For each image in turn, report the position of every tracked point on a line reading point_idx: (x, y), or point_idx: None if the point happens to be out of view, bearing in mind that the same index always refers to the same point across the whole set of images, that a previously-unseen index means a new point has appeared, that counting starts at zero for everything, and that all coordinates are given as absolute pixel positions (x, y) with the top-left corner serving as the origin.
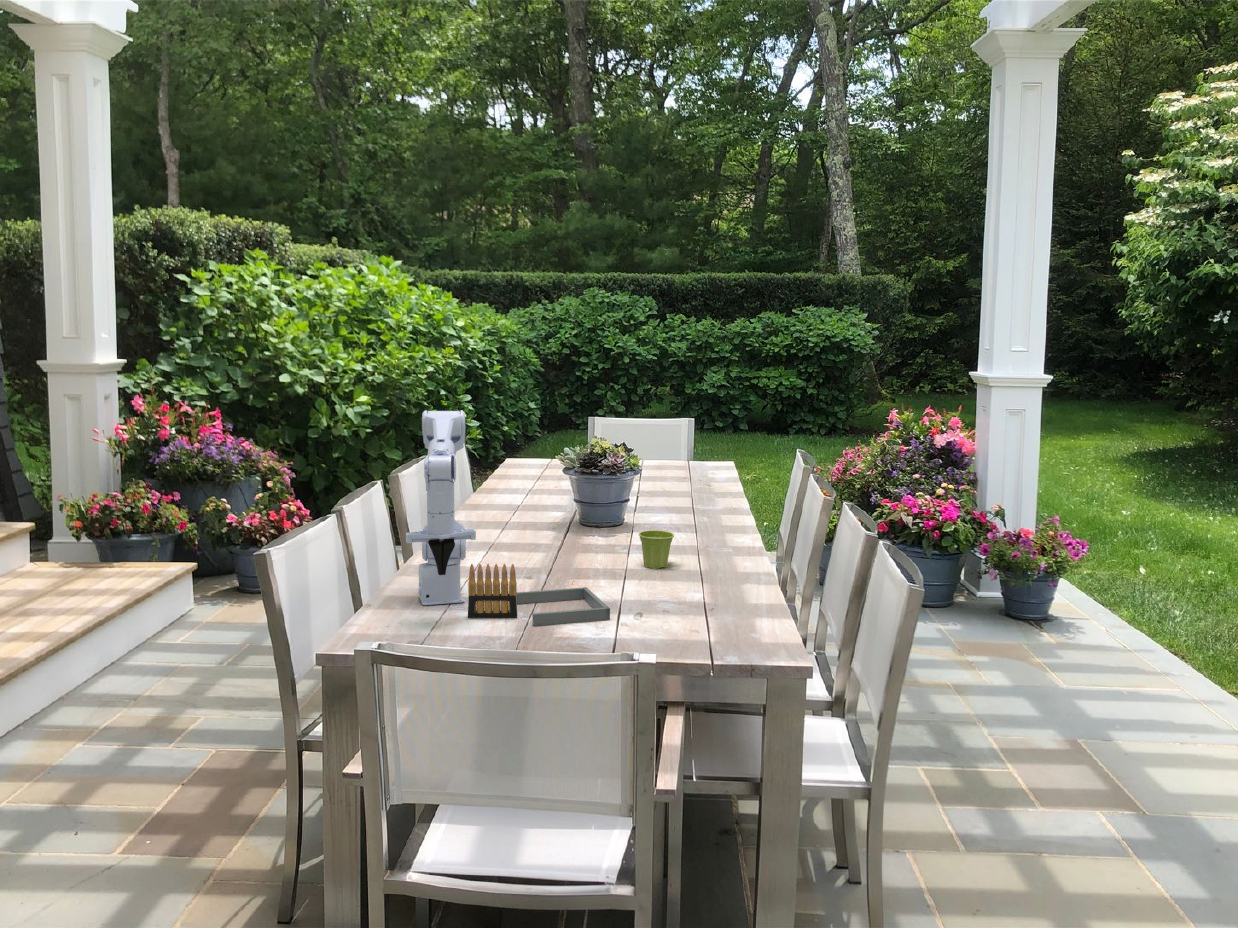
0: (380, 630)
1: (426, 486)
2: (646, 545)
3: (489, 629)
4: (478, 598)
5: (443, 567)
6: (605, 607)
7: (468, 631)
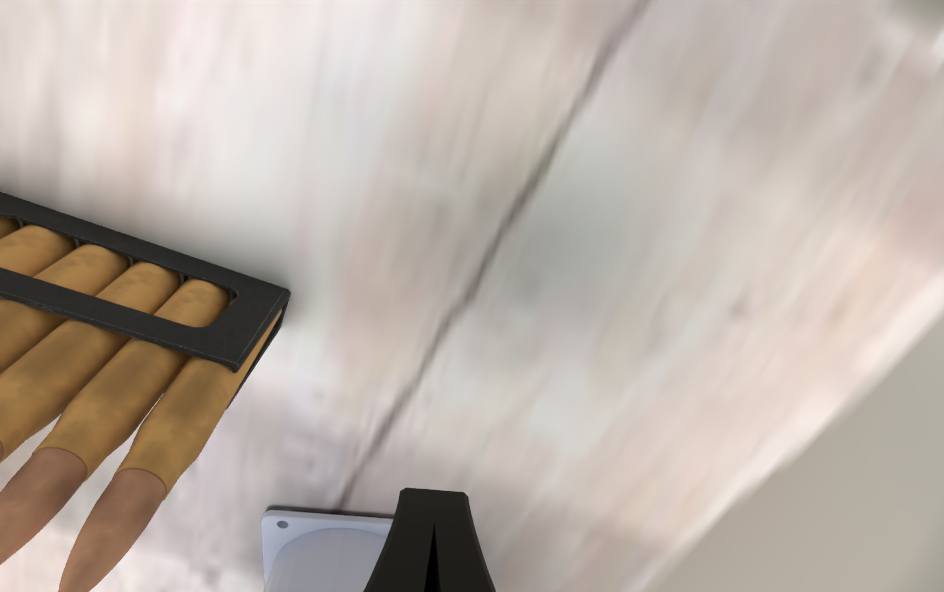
0: (806, 257)
1: None
2: None
3: (183, 2)
4: (173, 333)
5: (421, 549)
6: None
7: (336, 19)
